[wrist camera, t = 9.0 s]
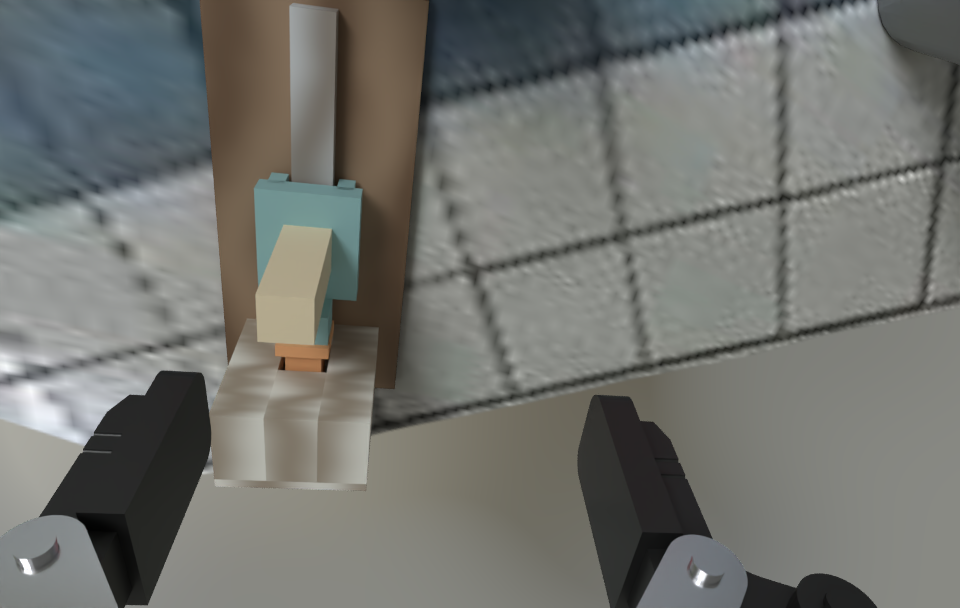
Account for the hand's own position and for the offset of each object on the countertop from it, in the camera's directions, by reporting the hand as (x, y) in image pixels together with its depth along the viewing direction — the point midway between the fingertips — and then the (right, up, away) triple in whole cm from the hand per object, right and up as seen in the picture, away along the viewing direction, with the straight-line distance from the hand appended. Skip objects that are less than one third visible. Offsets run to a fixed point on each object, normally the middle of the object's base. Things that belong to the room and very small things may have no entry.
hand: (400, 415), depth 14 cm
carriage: (-9, +6, +28) cm, 30 cm away
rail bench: (-9, +8, +29) cm, 31 cm away
